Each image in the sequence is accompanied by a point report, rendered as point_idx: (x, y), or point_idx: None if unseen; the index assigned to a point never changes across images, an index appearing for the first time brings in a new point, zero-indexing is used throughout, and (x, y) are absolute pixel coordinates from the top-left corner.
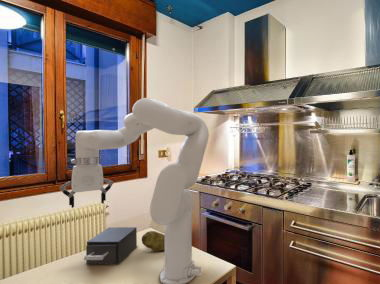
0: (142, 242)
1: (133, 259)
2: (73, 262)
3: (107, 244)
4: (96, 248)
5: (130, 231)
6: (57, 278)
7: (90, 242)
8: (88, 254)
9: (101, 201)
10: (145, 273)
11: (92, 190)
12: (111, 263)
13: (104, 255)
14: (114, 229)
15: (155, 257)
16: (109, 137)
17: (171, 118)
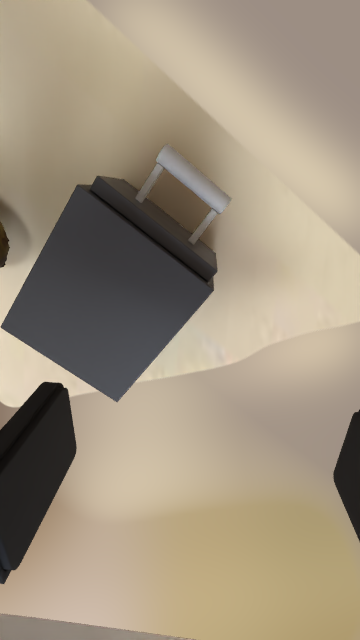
0: (4, 236)
1: (63, 192)
2: (248, 311)
3: (131, 215)
4: (179, 237)
5: (25, 290)
6: (304, 221)
7: (199, 277)
8: (209, 255)
9: (65, 426)
10: (20, 16)
11: (85, 630)
12: (137, 190)
13: (153, 170)
14: (95, 364)
15: None
16: None
17: None
